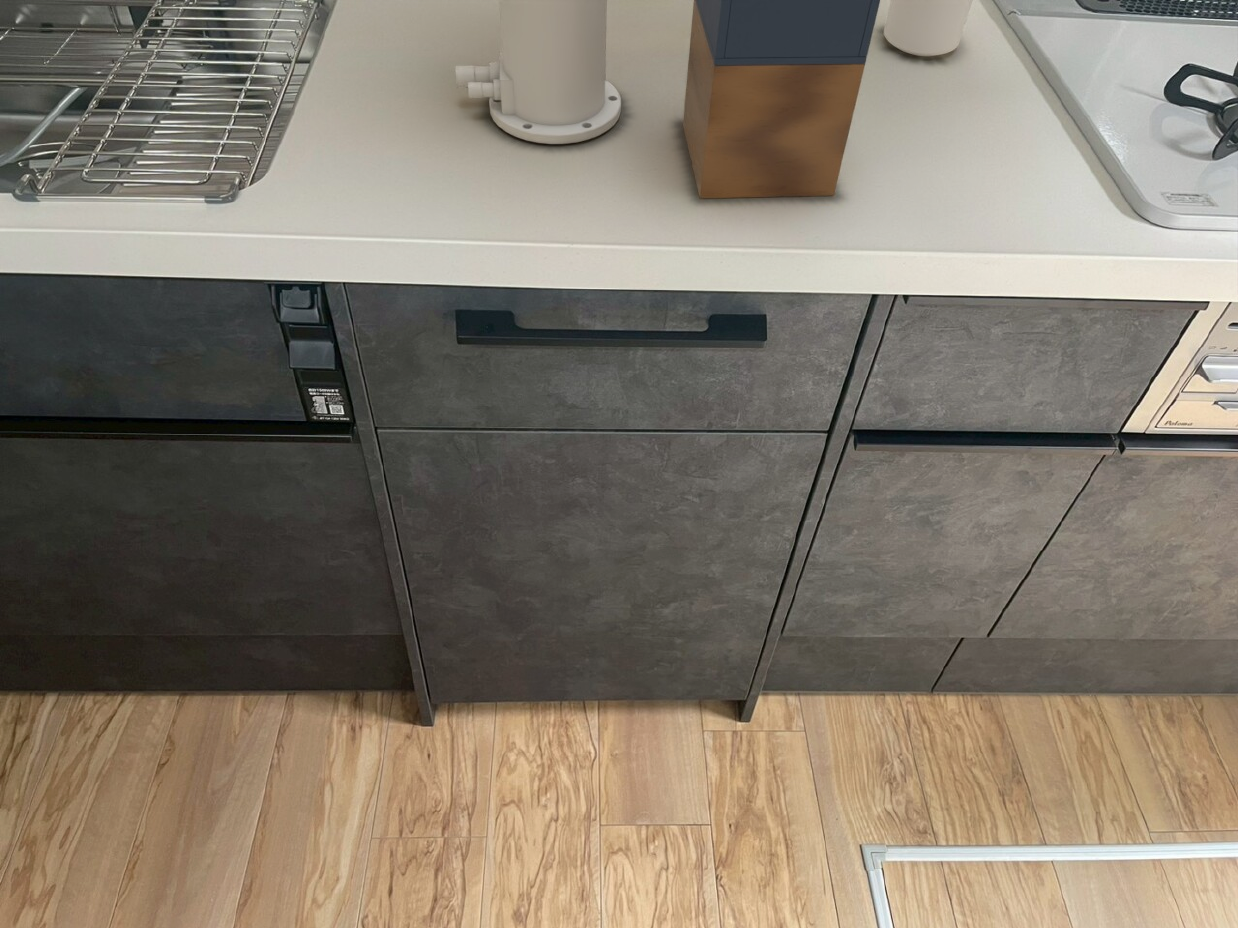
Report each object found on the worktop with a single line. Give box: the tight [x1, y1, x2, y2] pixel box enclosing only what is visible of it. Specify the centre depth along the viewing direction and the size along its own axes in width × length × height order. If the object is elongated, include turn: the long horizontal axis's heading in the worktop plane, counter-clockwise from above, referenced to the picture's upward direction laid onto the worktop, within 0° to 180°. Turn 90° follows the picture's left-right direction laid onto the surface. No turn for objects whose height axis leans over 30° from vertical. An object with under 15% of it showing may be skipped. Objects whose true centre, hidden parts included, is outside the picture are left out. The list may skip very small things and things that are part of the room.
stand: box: [682, 0, 866, 199], centre depth 82 cm, size 12×12×12 cm
